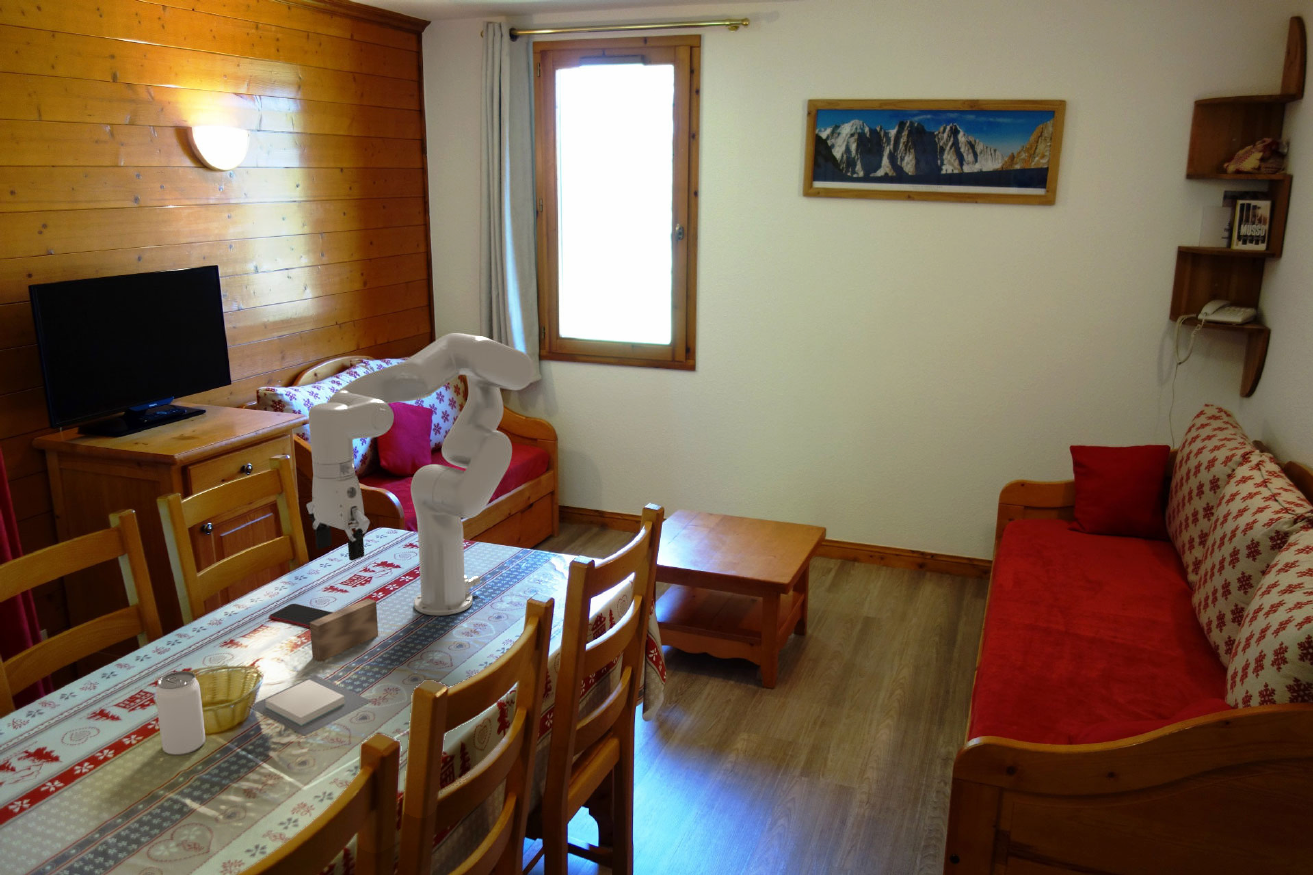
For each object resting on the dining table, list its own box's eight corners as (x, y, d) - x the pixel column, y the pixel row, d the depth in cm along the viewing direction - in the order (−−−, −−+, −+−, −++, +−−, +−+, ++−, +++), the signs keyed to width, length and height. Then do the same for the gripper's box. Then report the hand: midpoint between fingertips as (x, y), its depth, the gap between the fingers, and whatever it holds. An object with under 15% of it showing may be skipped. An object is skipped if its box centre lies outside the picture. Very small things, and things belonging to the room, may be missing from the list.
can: (177, 760, 158) (169, 693, 155) (154, 748, 162) (145, 682, 159) (214, 742, 164) (206, 676, 161) (190, 730, 167) (182, 665, 164)
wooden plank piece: (370, 634, 203) (367, 598, 201) (378, 637, 202) (376, 601, 200) (312, 660, 192) (309, 622, 190) (321, 663, 191) (317, 625, 188)
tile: (309, 679, 180) (265, 699, 173) (344, 695, 175) (300, 717, 168) (309, 687, 181) (266, 707, 174) (345, 704, 175) (301, 726, 168)
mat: (315, 676, 185) (315, 675, 185) (371, 703, 176) (371, 701, 176) (248, 708, 174) (248, 706, 174) (304, 737, 165) (304, 735, 165)
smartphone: (292, 602, 216) (346, 615, 210) (293, 606, 216) (347, 619, 210) (267, 615, 209) (322, 628, 204) (267, 619, 210) (322, 633, 204)
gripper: (380, 471, 186) (385, 556, 190) (321, 456, 195) (328, 537, 200) (347, 481, 180) (353, 568, 184) (288, 464, 189) (296, 548, 194)
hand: (340, 552), depth 192 cm, fingers open, 9 cm apart
